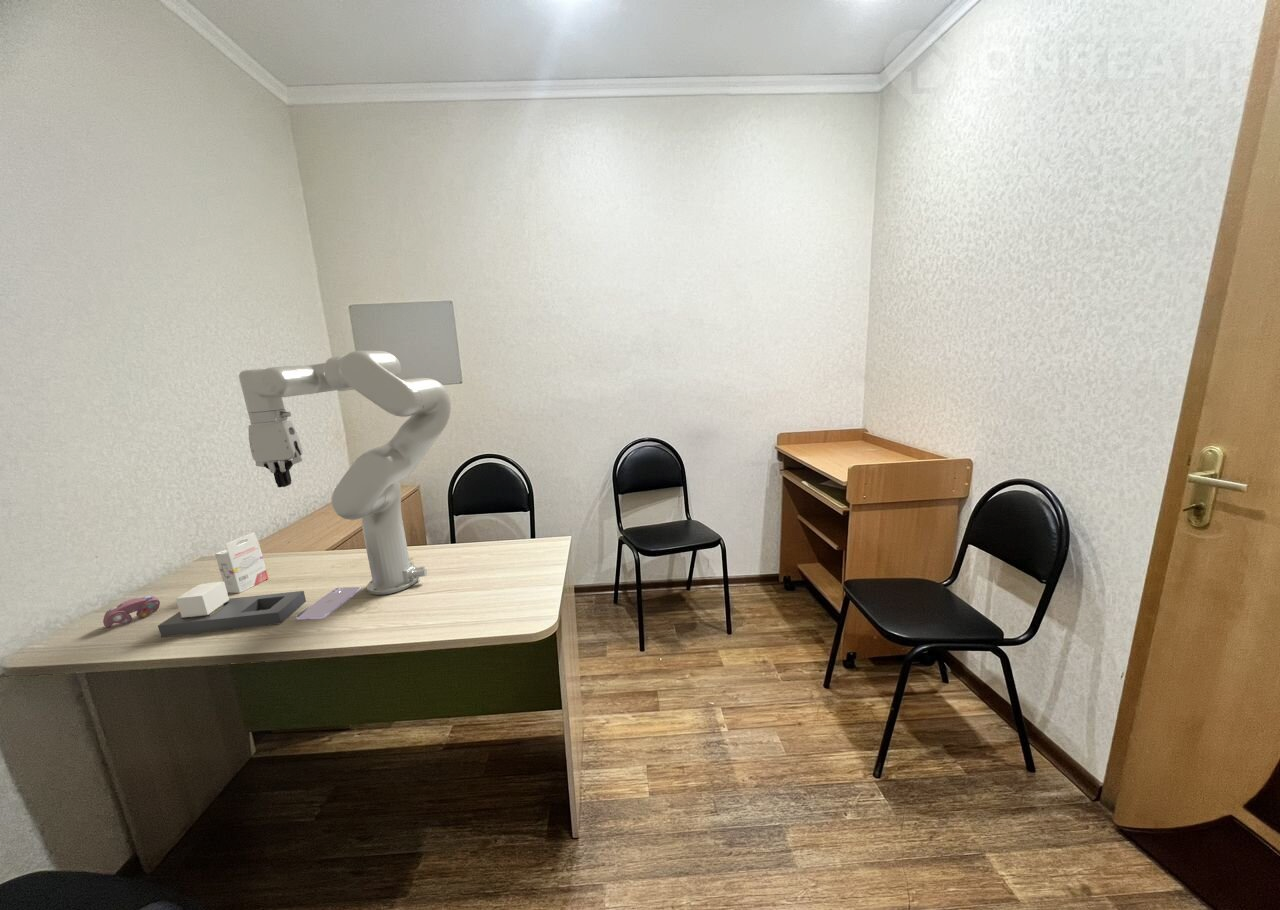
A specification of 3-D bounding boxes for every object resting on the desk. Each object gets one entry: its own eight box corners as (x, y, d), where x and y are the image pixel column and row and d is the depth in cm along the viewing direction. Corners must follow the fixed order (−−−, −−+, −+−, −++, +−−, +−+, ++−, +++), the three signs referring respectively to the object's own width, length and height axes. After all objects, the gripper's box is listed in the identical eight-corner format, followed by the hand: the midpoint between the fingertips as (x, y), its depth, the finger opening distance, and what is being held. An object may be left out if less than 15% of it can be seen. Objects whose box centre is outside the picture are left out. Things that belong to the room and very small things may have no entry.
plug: (232, 612, 118) (224, 581, 116) (211, 628, 111) (202, 595, 109) (208, 614, 117) (199, 584, 116) (185, 631, 111) (175, 598, 109)
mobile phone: (292, 617, 113) (335, 586, 127) (293, 621, 113) (336, 589, 127) (322, 616, 112) (362, 586, 127) (323, 620, 112) (363, 589, 127)
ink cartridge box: (255, 578, 137) (243, 531, 134) (269, 578, 136) (257, 531, 133) (224, 593, 129) (210, 543, 126) (239, 593, 128) (225, 543, 125)
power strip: (306, 601, 121) (303, 588, 121) (281, 623, 111) (277, 610, 111) (197, 613, 119) (193, 600, 118) (161, 637, 109) (156, 623, 108)
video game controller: (109, 636, 113) (105, 616, 110) (102, 625, 115) (97, 605, 112) (164, 616, 121) (162, 597, 118) (157, 605, 123) (154, 586, 120)
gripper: (307, 413, 125) (322, 479, 129) (246, 418, 123) (263, 485, 127) (290, 417, 118) (307, 486, 122) (226, 422, 116) (244, 492, 120)
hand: (284, 485), depth 125 cm, fingers closed
